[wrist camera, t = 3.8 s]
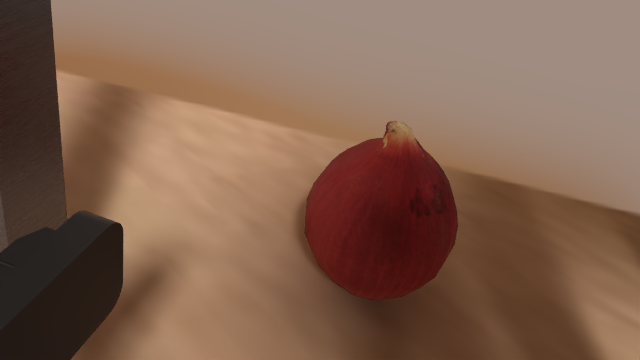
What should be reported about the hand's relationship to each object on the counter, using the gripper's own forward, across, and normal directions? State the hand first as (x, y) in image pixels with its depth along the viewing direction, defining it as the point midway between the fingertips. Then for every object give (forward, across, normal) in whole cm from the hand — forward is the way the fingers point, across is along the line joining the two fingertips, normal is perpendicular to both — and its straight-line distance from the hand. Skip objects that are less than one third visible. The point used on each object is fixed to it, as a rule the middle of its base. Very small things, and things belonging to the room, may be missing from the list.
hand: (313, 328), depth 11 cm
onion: (+12, 0, +9) cm, 15 cm away
